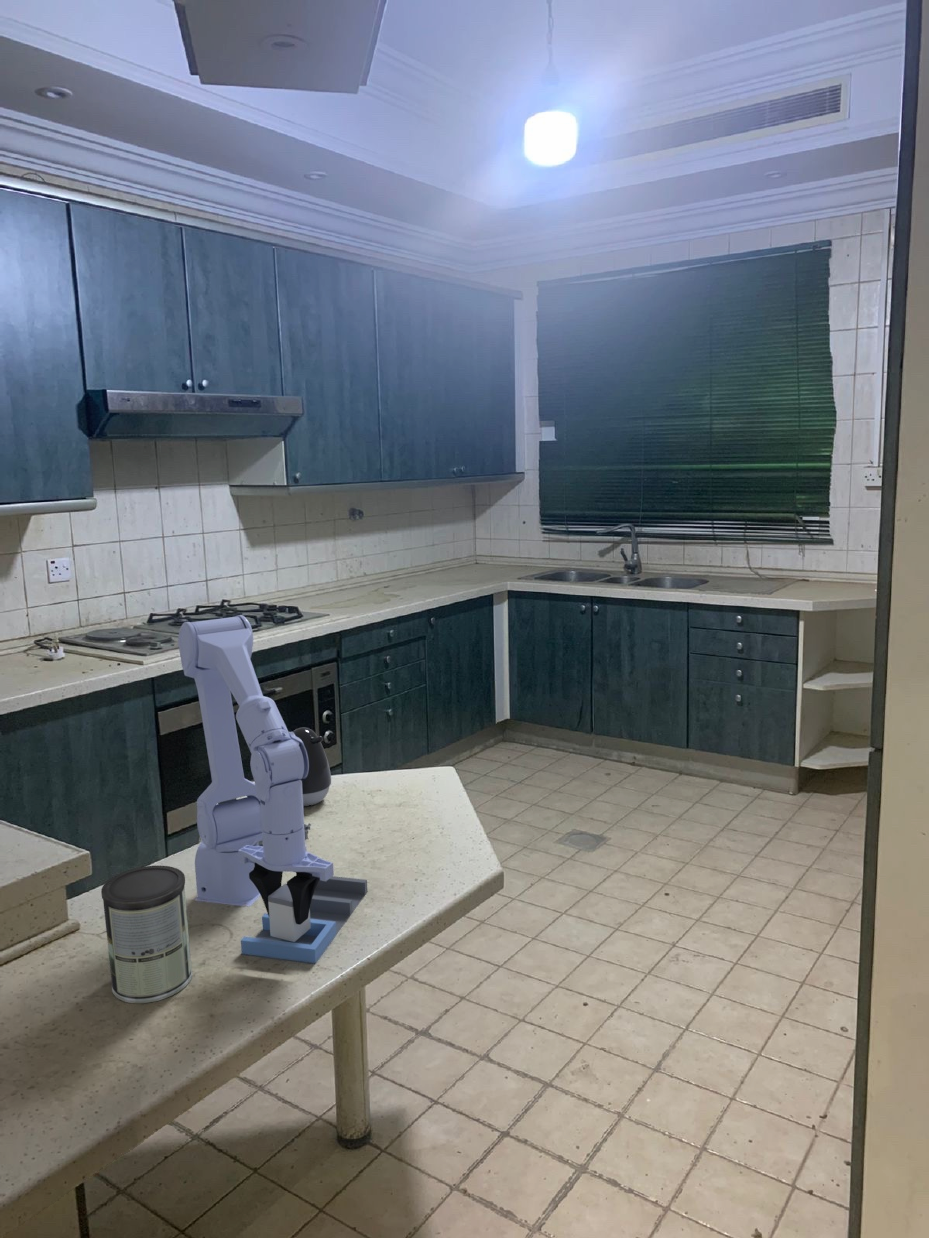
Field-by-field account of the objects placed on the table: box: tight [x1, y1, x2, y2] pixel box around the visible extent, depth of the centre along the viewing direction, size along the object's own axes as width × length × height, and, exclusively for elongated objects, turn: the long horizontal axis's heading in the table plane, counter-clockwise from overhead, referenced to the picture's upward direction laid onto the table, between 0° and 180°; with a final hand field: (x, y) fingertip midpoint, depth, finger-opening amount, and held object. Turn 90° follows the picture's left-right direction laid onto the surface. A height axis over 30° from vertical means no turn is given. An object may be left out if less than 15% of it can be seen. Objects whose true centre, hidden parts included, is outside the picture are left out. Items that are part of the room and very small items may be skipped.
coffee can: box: [100, 865, 193, 1004], centre depth 120 cm, size 10×10×14 cm
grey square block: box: [268, 883, 311, 942], centre depth 128 cm, size 4×4×6 cm
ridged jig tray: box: [240, 875, 369, 965], centre depth 135 cm, size 11×21×3 cm, turn 166°
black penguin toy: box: [292, 726, 332, 807], centre depth 180 cm, size 10×10×15 cm
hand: (288, 917), depth 128 cm, fingers closed on grey square block, 4 cm apart
